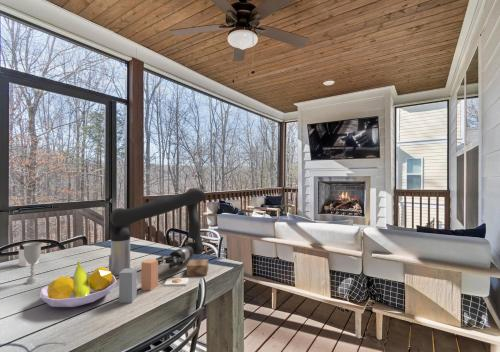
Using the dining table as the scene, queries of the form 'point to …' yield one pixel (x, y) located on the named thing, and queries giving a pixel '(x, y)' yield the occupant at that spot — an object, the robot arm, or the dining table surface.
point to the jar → (21, 256)
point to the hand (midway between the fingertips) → (161, 265)
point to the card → (176, 282)
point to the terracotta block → (149, 274)
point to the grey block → (127, 285)
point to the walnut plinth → (197, 267)
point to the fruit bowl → (78, 288)
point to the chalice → (32, 258)
